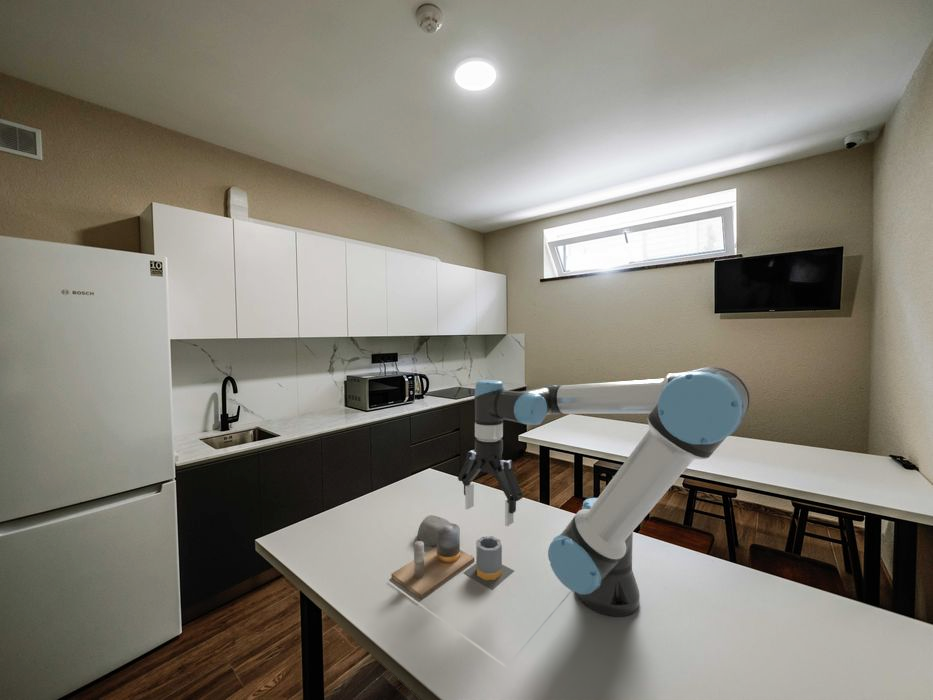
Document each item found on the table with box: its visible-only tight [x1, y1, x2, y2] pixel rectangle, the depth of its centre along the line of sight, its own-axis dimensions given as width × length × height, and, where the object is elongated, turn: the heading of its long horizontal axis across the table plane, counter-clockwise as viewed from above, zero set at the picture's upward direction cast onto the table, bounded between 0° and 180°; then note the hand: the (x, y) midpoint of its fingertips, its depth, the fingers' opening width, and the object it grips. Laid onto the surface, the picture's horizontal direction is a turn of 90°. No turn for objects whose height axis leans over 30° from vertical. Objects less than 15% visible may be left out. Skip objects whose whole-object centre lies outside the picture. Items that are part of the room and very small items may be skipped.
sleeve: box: [475, 535, 503, 580], centre depth 100 cm, size 7×7×8 cm
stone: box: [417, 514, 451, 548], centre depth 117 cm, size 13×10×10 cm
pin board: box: [391, 522, 475, 600], centre depth 101 cm, size 12×20×10 cm, turn 139°
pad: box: [463, 563, 515, 591], centre depth 100 cm, size 10×10×1 cm
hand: (488, 515), depth 100 cm, fingers open, 13 cm apart
